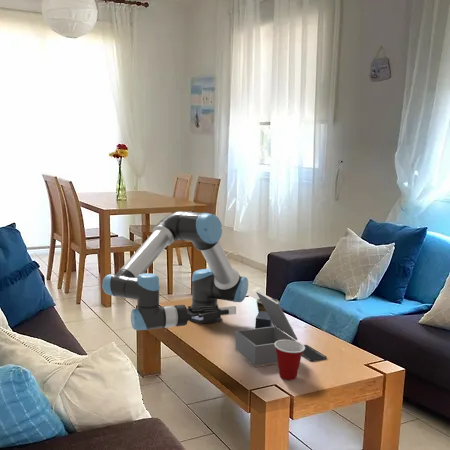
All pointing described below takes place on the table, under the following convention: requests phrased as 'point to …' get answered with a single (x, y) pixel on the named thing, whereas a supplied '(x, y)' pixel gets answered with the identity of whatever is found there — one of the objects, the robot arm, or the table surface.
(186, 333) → the table surface
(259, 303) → the ceramic cup
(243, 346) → the grey open rectangular box
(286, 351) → the plastic cup
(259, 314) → the small box
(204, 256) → the robot arm
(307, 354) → the phone
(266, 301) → the lid
